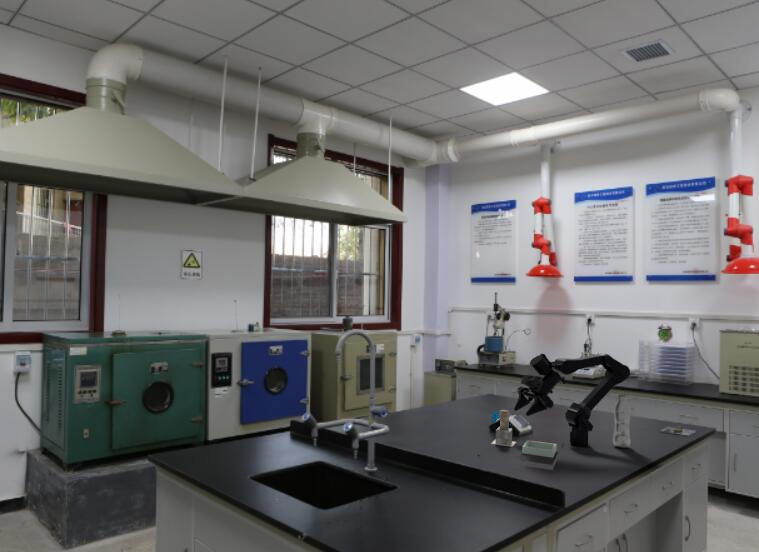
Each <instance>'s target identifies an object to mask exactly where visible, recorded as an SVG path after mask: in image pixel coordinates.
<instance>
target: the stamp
mask: <svg viewBox="0 0 759 552" xmlns="http://www.w3.org/2000/svg"><path fill="white" fill-rule="evenodd" d="M499 412H500V413H499V415H500V426H499V427H498V428H497V429H495V439H496V443H497V444H504V445H510V444H511V443H512V441H513V428H512V427H511V428H509V420H510V410H507V409H501V410H499ZM497 444H496V445H497ZM504 445H503V446H504Z"/></svg>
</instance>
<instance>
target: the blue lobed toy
mask: <svg viewBox="0 0 759 552" xmlns="http://www.w3.org/2000/svg"><path fill="white" fill-rule="evenodd" d="M490 418H492V419H491V422H492V423H495V422H496V420H497V419H499V418H500V410H497V411H493V412H492V415H491V416H490Z"/></svg>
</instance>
